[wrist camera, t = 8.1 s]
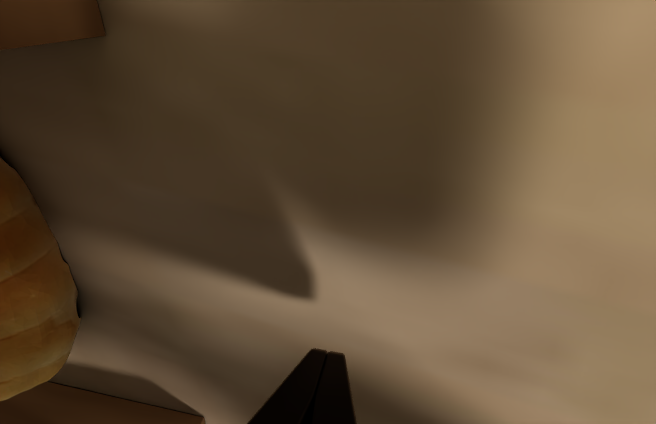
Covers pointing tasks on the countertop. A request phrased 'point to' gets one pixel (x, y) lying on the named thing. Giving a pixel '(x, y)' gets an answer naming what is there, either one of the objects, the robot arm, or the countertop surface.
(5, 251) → the pastry
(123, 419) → the box
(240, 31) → the countertop surface
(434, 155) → the countertop surface
